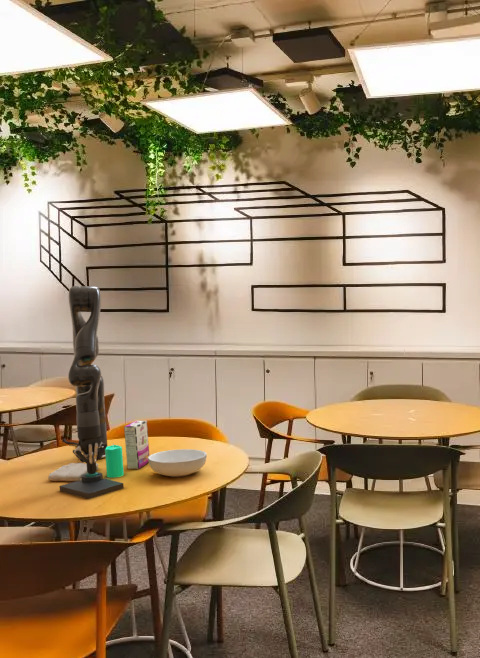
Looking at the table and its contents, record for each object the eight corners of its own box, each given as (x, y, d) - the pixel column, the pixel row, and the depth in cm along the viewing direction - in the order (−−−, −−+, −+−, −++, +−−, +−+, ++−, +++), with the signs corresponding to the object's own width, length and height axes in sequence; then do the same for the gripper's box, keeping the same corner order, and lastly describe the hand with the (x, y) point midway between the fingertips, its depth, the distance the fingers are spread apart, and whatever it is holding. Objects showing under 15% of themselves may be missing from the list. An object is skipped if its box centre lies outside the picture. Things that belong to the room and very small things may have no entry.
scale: (58, 491, 226) (58, 481, 225) (94, 481, 237) (94, 471, 237) (88, 499, 216) (87, 488, 215) (124, 488, 227) (124, 478, 226)
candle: (108, 473, 246) (106, 441, 245) (124, 472, 247) (122, 440, 245) (105, 478, 240) (103, 445, 239) (122, 477, 241) (120, 444, 239)
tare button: (83, 478, 232) (83, 473, 231) (93, 476, 235) (93, 471, 235) (90, 480, 229) (90, 475, 229) (100, 477, 232) (100, 472, 232)
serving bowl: (216, 467, 249) (215, 449, 249) (191, 483, 230) (190, 463, 229) (166, 464, 256) (165, 447, 255) (137, 479, 237) (136, 460, 236)
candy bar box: (138, 461, 263) (135, 420, 261) (150, 462, 262) (147, 420, 260) (126, 469, 252) (123, 426, 250) (138, 469, 251) (136, 426, 249)
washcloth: (100, 469, 253) (99, 461, 253) (80, 482, 236) (79, 474, 235) (70, 469, 255) (69, 461, 255) (47, 482, 237) (47, 473, 237)
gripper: (97, 419, 237) (101, 467, 239) (65, 426, 227) (68, 476, 229) (111, 421, 232) (114, 470, 234) (78, 428, 222) (82, 479, 224)
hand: (91, 473), depth 232 cm, fingers closed
